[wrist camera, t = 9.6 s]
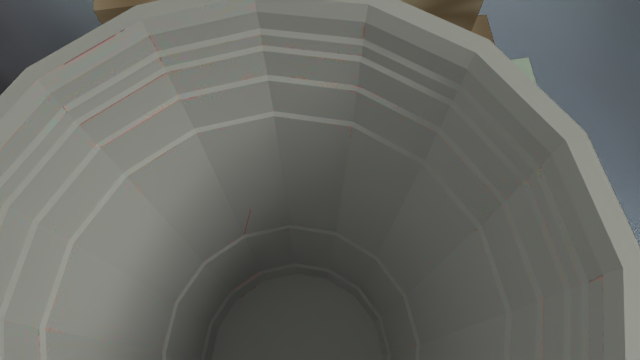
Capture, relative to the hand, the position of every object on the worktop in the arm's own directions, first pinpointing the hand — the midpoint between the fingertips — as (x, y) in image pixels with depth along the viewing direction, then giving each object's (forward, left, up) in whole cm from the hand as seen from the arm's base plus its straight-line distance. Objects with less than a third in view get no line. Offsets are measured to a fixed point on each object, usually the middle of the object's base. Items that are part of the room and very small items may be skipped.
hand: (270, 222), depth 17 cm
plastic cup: (0, +3, -4) cm, 5 cm away
